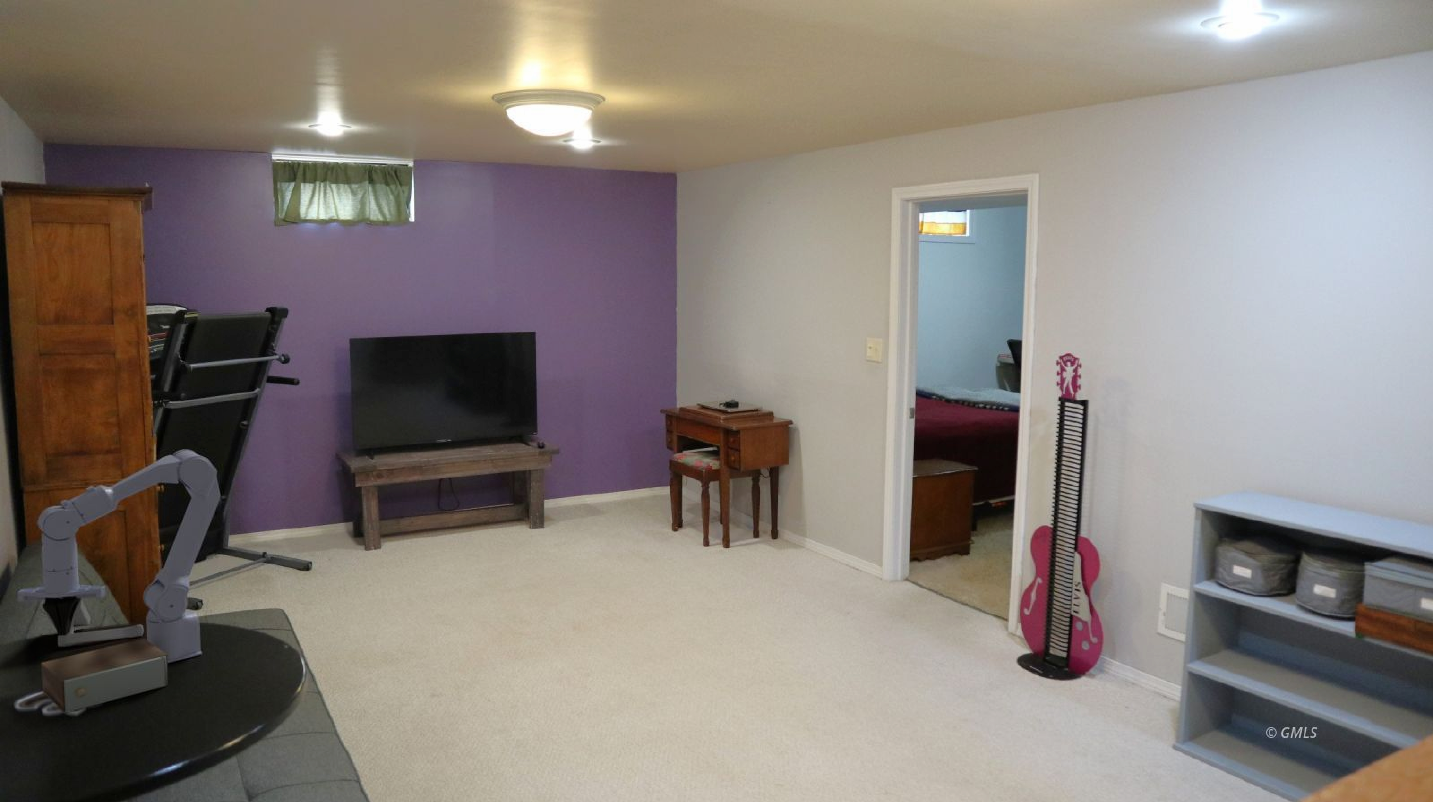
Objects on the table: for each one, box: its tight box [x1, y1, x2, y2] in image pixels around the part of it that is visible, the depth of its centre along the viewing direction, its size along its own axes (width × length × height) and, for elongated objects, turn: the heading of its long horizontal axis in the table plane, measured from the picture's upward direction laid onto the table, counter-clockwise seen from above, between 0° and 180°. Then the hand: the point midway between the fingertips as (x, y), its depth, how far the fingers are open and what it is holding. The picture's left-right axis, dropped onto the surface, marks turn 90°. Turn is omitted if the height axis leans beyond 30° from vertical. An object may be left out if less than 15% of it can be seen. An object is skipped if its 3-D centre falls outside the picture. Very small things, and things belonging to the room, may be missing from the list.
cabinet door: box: [64, 656, 168, 713], centre depth 183 cm, size 17×2×6 cm, turn 139°
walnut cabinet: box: [41, 638, 169, 713], centre depth 188 cm, size 18×12×6 cm, turn 140°
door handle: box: [43, 599, 145, 648], centre depth 213 cm, size 18×8×20 cm
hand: (64, 633), depth 191 cm, fingers closed
